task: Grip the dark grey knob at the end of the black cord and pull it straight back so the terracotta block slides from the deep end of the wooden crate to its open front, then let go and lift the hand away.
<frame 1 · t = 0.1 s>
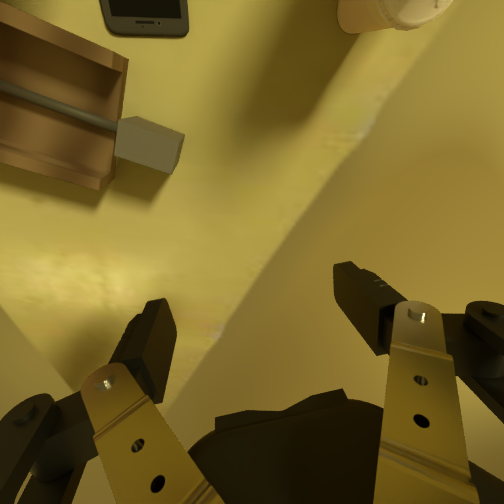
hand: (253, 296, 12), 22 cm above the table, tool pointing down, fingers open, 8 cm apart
smoothie: (354, 10, 25), on the table
wooden crate: (5, 83, 24), on the table
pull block: (29, 101, 21), point 4 cm above the table, slide at 0.0 cm
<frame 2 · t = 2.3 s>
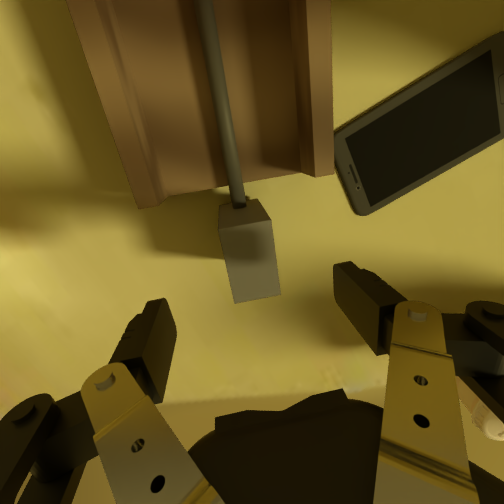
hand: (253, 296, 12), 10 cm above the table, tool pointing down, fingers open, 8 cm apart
smoothie: (426, 327, 28), on the table
wooden crate: (204, 13, 15), on the table
cell phone: (417, 134, 20), on the table
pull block: (217, 76, 13), point 4 cm above the table, slide at 0.0 cm
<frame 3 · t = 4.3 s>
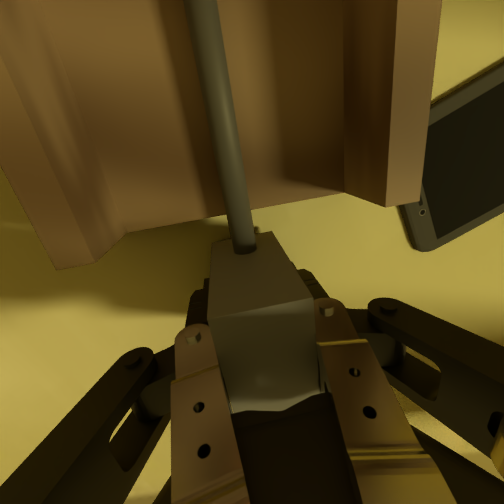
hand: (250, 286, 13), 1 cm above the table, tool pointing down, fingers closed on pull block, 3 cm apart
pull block: (202, 2, 6), point 4 cm above the table, slide at 0.0 cm, touching gripper
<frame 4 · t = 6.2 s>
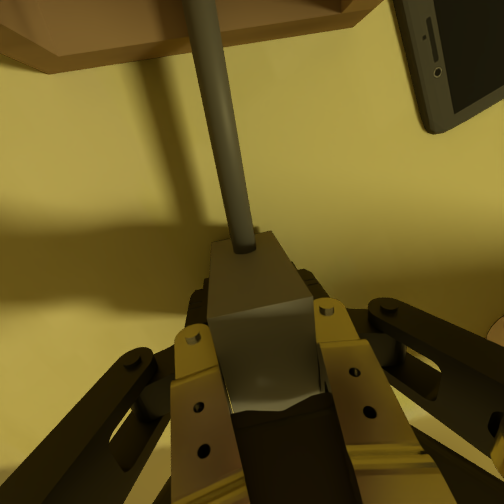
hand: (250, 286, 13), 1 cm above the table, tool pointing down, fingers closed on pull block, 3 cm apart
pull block: (200, 2, 6), point 4 cm above the table, slide at 6.2 cm, touching gripper
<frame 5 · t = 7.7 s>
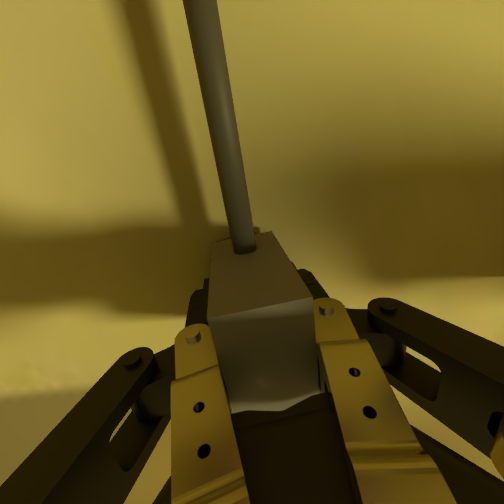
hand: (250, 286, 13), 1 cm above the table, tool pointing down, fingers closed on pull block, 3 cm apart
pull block: (202, 3, 6), point 4 cm above the table, slide at 12.8 cm, touching gripper
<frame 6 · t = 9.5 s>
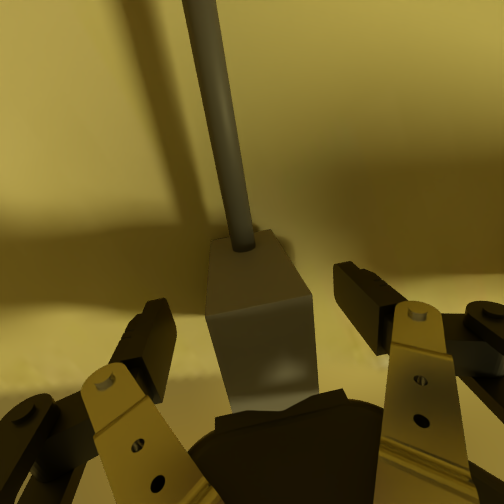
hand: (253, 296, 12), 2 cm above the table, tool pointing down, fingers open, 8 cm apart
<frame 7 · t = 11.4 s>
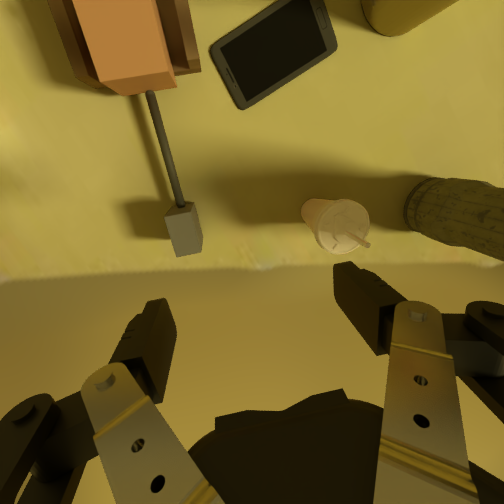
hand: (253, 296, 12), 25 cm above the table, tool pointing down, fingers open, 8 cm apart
smoothie: (312, 210, 37), on the table
thermos: (428, 205, 40), on the table
cell phone: (274, 51, 30), on the table
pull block: (161, 144, 28), point 4 cm above the table, slide at 12.9 cm
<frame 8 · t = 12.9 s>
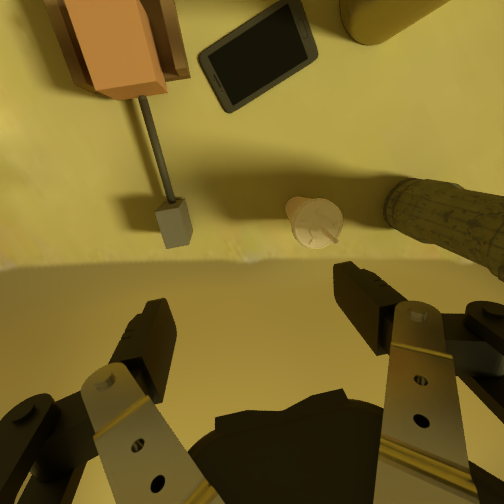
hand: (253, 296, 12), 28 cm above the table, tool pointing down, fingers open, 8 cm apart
smoothie: (296, 207, 40), on the table
thermos: (407, 204, 42), on the table
cell phone: (258, 58, 32), on the table
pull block: (152, 145, 30), point 4 cm above the table, slide at 12.9 cm
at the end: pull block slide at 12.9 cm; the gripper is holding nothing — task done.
